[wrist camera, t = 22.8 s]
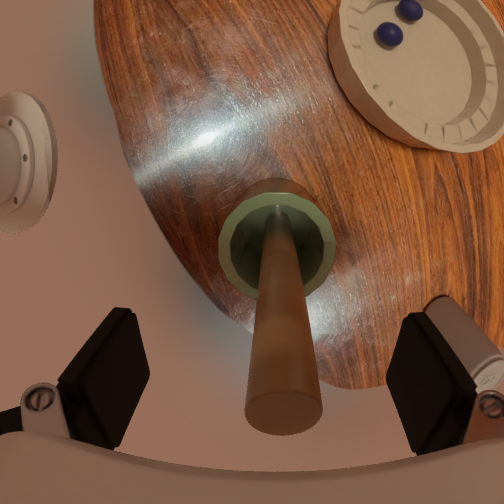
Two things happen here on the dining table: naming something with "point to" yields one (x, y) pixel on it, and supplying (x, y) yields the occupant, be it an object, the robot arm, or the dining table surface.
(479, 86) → the bowl
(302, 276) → the crock
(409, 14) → the berry
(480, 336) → the beverage can
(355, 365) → the dining table surface
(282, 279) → the stick
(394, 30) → the berry
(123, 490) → the robot arm
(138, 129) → the dining table surface
